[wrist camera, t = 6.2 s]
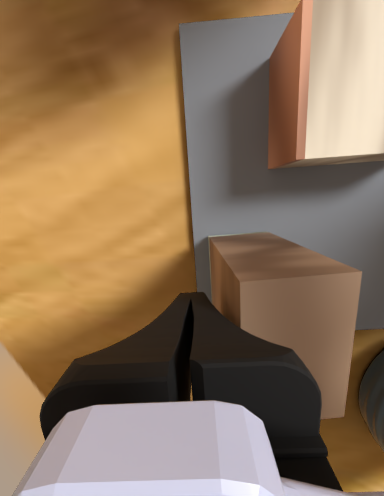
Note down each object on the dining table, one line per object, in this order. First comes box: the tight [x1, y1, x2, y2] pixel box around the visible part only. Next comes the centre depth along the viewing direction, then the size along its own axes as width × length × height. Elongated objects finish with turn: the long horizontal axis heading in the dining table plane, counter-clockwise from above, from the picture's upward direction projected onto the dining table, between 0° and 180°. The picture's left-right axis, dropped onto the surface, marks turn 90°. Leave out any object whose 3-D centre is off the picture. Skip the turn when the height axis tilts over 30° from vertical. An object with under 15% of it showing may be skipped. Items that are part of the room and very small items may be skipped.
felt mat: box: [179, 13, 384, 330], centre depth 14 cm, size 14×20×1 cm
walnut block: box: [208, 231, 362, 420], centre depth 12 cm, size 4×6×8 cm, turn 4°
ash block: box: [268, 0, 384, 169], centre depth 11 cm, size 4×6×8 cm
